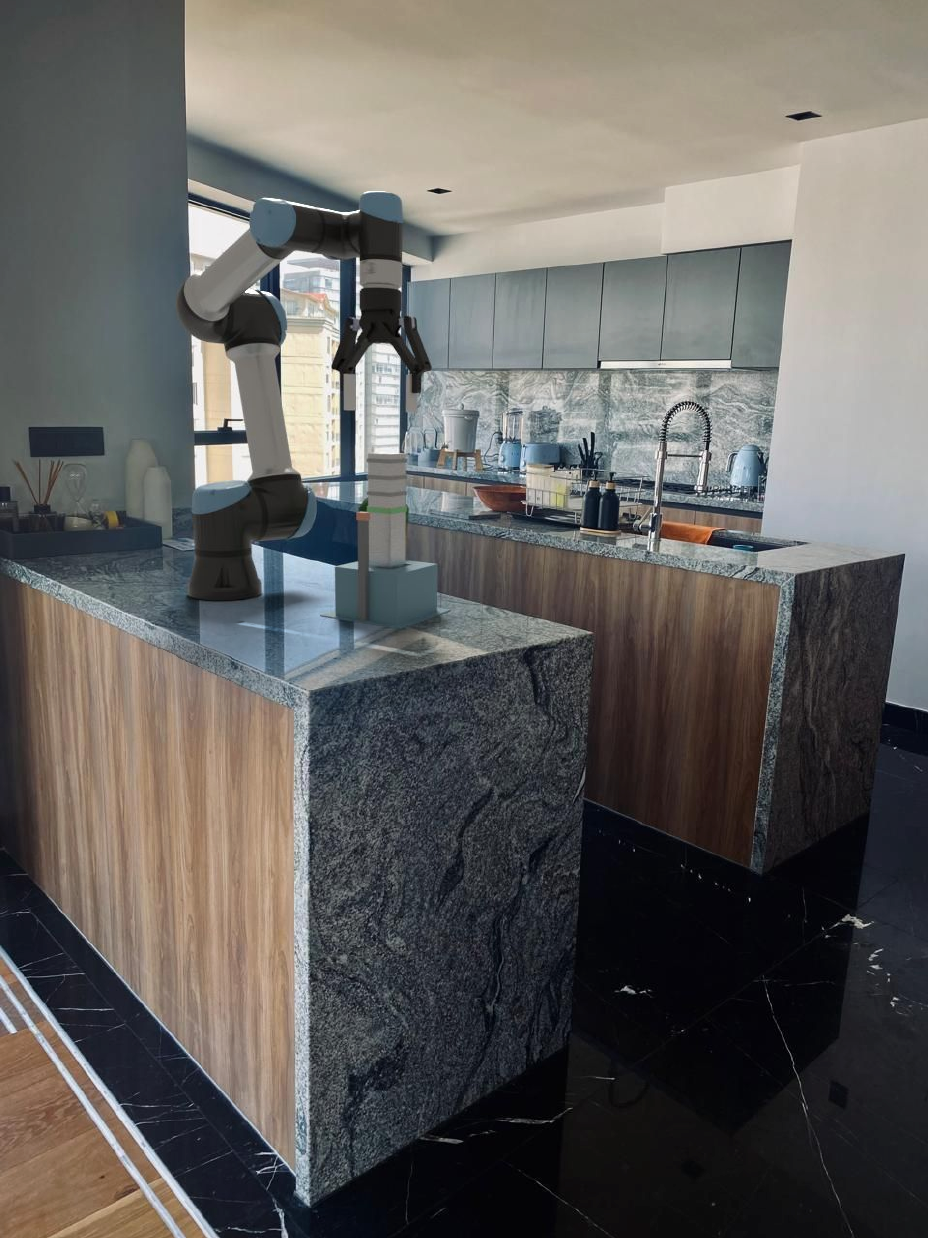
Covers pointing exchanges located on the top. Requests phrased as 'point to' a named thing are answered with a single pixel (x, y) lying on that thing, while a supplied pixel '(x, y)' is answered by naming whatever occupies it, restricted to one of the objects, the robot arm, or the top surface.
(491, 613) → the top surface
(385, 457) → the column
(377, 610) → the stand base
